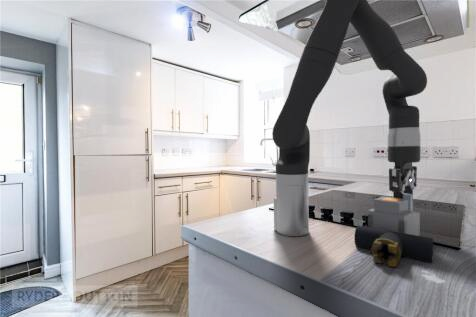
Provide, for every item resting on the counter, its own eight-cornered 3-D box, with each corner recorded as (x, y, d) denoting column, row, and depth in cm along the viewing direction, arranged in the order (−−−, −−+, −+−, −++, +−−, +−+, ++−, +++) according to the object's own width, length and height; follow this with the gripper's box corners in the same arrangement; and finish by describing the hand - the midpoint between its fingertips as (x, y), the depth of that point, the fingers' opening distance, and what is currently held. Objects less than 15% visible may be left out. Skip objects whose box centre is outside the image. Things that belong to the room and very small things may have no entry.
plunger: (380, 210, 64) (380, 199, 64) (385, 207, 67) (385, 197, 67) (395, 212, 62) (395, 201, 62) (401, 210, 64) (401, 199, 64)
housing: (368, 240, 66) (368, 199, 65) (385, 231, 73) (385, 193, 72) (403, 250, 59) (404, 204, 59) (419, 238, 66) (419, 197, 66)
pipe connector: (430, 250, 47) (346, 234, 56) (429, 278, 47) (346, 257, 56) (433, 234, 56) (360, 223, 65) (432, 258, 56) (360, 243, 65)
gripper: (410, 144, 62) (410, 211, 62) (428, 144, 71) (427, 202, 71) (378, 145, 68) (378, 206, 68) (398, 145, 77) (397, 199, 77)
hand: (403, 204), depth 70 cm, fingers open, 7 cm apart
